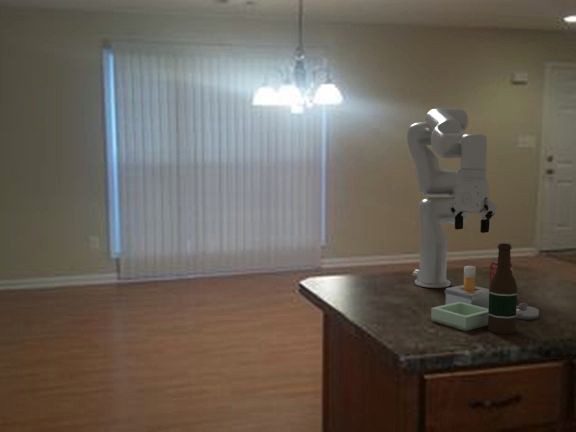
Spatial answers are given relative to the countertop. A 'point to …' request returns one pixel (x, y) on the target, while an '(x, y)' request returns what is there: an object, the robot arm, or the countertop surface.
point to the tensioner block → (468, 296)
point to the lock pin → (469, 278)
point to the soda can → (494, 267)
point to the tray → (460, 315)
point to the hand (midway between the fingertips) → (471, 230)
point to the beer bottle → (502, 295)
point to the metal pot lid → (526, 312)
